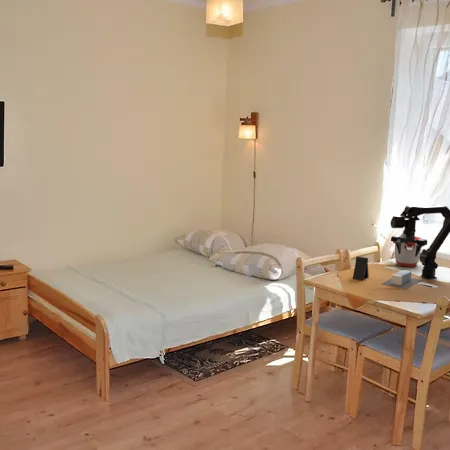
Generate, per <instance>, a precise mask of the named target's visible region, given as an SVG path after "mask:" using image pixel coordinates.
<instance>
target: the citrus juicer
mask: <svg viewBox="0 0 450 450" xmlns="http://www.w3.org/2000/svg"><path fill="white" fill-rule="evenodd" d="M401 235H402V234H401ZM401 235H399V236H401ZM418 239H423V238H421V237H419V236H416V235H415V240H418ZM416 245H417V243H412V242H409V243H408V244H406V243H401V253H400V254H399V252H398V249H397V246H396V244H395V243H394V260H395V264H397V265H398V266H400V267H407V268H410V267H411V268H414V267H416V266H417V265H418V263H419V261H420V259H419V257H420V254H421V252H422V251H421V250H422V248H421V249H420V251H419V253H418V255H417V257H415V253H416Z"/></svg>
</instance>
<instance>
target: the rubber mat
mask: <svg viewBox="0 0 450 450" xmlns="http://www.w3.org/2000/svg"><path fill="white" fill-rule="evenodd" d="M420 282H422V279H419V278H414V277H411V280H410V281H408V282H406V283H404V284H402V285H396V284H392V277H391V278H389V279H388V280H386V281H384V282H381V285H385V286H388V287H389V286H390V287H394V288H400V289H405V290H408V289H410V288H412V287H414V286H415V285H416V284H418V283H420Z"/></svg>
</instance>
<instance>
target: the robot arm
mask: <svg viewBox="0 0 450 450" xmlns="http://www.w3.org/2000/svg"><path fill="white" fill-rule="evenodd" d="M428 214H429V215H430V214H441V215H442V217H443V218H444V219H443V221H442V222H443V223H442V227H441V228H440V230H439V231H438V233H437V234H436V236H435V238H434V239H433V241H432V243H430V245H429V247H428V248H426V249H425V248H423V249H422V247H424V246H427V245H428V240H427V239H426V238H422V239H418V240H415V236H416V232H417V229H416V225H417V221H421V219H420V218H419V216H422V215H428ZM390 227H391V229H403V231H402V233H401V236H400V235H397V234H395V235H392V236H391V238H390V242H392V243H393V244H394V245H395V244H396V246H397V249H398V252H399V254H400V253H401V243H406V244H408V243H409V242H412V243H417V245H416V253H415V257H417V255H418V253H419V251H420V249H421V250H422V251H420V257H419V261H420V263H421V265H422V270H421V274H420V275H419V276H420V277H422V278H424V279H427V280H430V279H431V280H432V279H438V278H437V277H436V269H438V267H439V264H438V263H437V262H436V261H435V260H436V259H437V253H438V251H439V249H440V248H441V247H442V245H443V243H444V242H445V241H446V239H447V237H448V236H449V235H450V208H449V207H448V206H446V205H443V204H441V205H431V206H429V205H428V206H418V205H413V204H412V205H411V204H409V205H408V204H407V205H406V206H405V207H404V210H403V211H402V212H401V213H400V215H393V216H392V218H391V220H390Z"/></svg>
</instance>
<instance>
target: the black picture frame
mask: <svg viewBox="0 0 450 450" xmlns="http://www.w3.org/2000/svg"><path fill="white" fill-rule="evenodd" d="M369 276H370V275H369V258H368V257H364V256H356V257H355V264H354V269H353V276H352V280H358V281H365V280H366V279H369Z"/></svg>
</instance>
